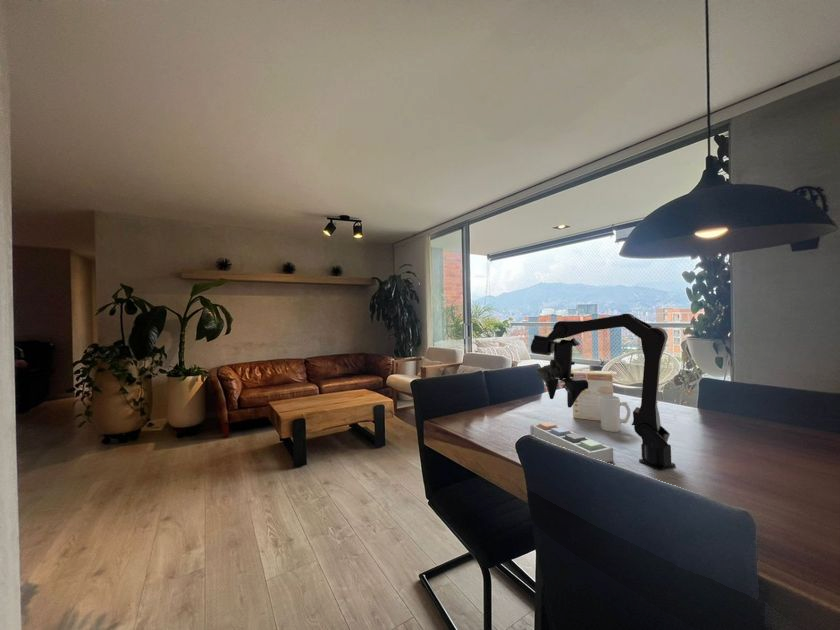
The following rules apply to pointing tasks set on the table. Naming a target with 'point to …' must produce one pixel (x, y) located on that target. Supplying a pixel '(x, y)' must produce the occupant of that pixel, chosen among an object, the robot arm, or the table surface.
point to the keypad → (600, 454)
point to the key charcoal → (574, 438)
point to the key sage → (590, 445)
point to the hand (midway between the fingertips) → (560, 403)
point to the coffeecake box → (592, 393)
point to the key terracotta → (546, 426)
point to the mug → (612, 413)
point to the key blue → (560, 431)
